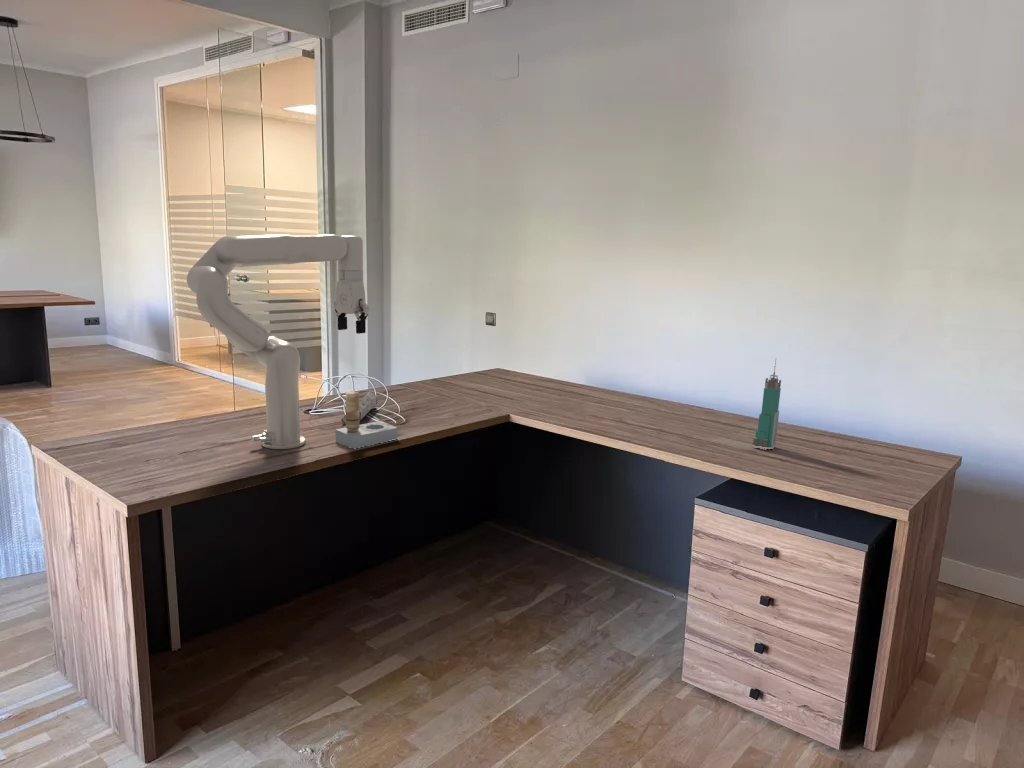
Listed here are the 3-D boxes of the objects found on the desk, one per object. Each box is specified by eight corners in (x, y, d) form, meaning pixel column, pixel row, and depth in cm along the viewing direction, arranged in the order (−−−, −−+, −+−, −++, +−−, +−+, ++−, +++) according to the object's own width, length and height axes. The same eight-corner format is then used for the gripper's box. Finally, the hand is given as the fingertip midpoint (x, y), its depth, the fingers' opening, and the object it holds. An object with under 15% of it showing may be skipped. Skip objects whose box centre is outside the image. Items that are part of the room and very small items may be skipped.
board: (353, 449, 211) (353, 436, 210) (335, 442, 217) (335, 429, 217) (397, 439, 222) (397, 427, 221) (379, 433, 229) (379, 421, 228)
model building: (370, 414, 261) (353, 434, 237) (357, 401, 260) (338, 419, 236) (384, 402, 260) (368, 420, 236) (370, 388, 259) (353, 405, 235)
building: (770, 451, 223) (781, 358, 217) (751, 448, 226) (761, 356, 220) (775, 447, 228) (785, 355, 222) (756, 443, 231) (765, 353, 225)
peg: (350, 433, 212) (350, 395, 210) (343, 431, 215) (342, 392, 213) (362, 431, 215) (362, 393, 213) (354, 428, 218) (354, 391, 216)
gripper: (324, 274, 220) (325, 329, 224) (357, 278, 209) (357, 335, 212) (344, 274, 225) (345, 327, 229) (377, 277, 214) (378, 333, 218)
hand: (351, 331), depth 221 cm, fingers open, 9 cm apart
